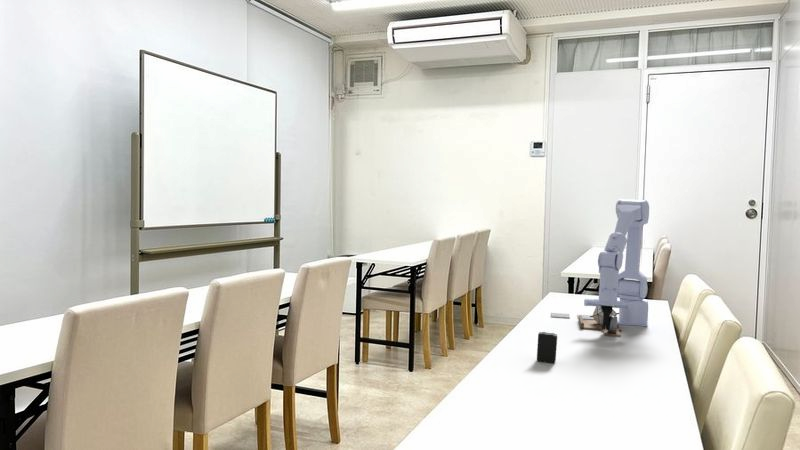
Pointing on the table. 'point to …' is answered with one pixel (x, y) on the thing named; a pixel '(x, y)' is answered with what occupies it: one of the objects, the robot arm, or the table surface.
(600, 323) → the game die
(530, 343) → the table surface
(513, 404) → the table surface
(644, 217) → the robot arm
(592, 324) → the brown base with post
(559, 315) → the broken grey strip
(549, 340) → the ink cartridge
